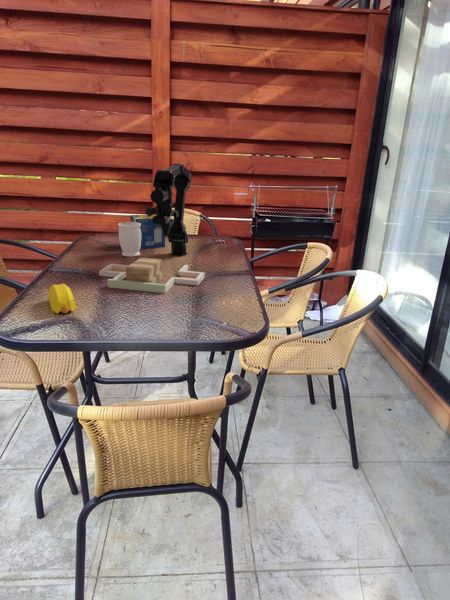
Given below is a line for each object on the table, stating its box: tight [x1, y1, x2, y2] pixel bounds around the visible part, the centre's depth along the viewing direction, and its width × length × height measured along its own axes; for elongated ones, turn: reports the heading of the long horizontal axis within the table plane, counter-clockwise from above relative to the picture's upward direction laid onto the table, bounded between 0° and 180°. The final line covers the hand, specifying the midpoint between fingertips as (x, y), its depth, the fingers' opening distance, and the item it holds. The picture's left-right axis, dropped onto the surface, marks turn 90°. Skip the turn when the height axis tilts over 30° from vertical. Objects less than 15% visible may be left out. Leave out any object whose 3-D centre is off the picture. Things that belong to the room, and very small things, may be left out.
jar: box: [117, 221, 141, 258], centre depth 213 cm, size 11×10×15 cm
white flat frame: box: [98, 263, 206, 294], centre depth 184 cm, size 32×42×3 cm
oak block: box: [126, 256, 163, 284], centre depth 178 cm, size 15×9×8 cm, turn 168°
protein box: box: [130, 214, 166, 250], centre depth 229 cm, size 10×15×16 cm
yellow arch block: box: [47, 283, 77, 314], centre depth 152 cm, size 18×7×8 cm
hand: (165, 236), depth 198 cm, fingers closed
